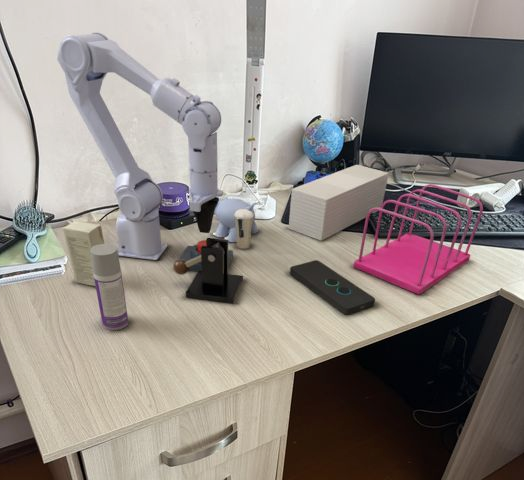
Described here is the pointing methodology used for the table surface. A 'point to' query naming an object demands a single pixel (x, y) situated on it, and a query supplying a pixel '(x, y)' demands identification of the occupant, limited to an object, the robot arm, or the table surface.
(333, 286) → the smart home device
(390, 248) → the file sorter
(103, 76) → the robot arm
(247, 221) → the milkshake
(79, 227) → the cosmetic box
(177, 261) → the lever
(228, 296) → the switch bracket
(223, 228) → the hippopotamus toy
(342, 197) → the stack of papers
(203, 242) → the button
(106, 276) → the container
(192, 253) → the button box
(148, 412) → the table surface
